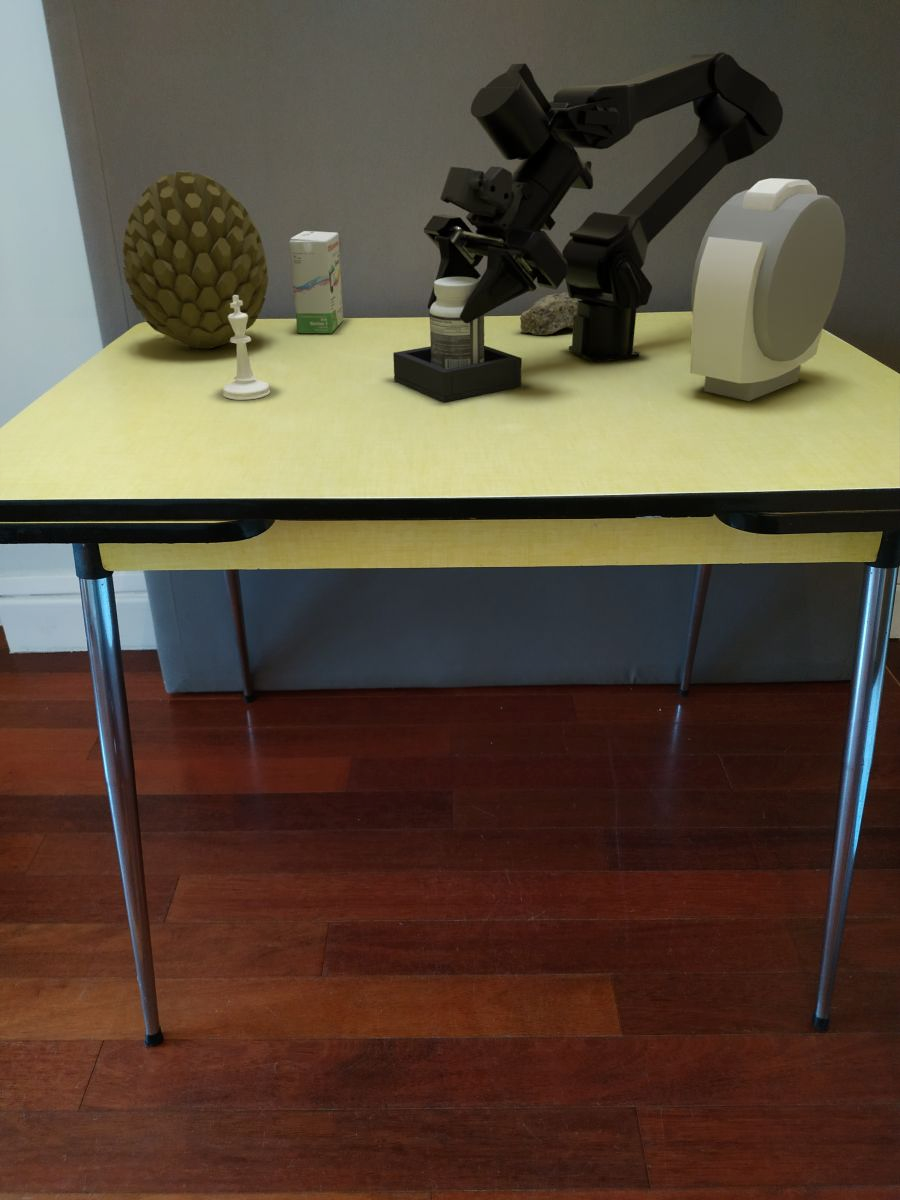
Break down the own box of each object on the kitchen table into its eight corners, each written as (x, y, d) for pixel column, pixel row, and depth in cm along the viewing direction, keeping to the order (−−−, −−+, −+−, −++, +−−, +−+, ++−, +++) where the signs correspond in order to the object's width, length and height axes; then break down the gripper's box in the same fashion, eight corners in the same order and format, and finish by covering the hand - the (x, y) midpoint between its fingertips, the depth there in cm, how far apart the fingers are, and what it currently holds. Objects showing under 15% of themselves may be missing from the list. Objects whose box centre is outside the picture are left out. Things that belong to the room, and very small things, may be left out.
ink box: (332, 334, 120) (326, 239, 114) (296, 333, 121) (287, 238, 115) (344, 320, 128) (339, 230, 122) (310, 319, 128) (303, 230, 122)
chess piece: (278, 388, 98) (269, 292, 93) (255, 401, 94) (244, 301, 89) (238, 384, 99) (227, 289, 94) (214, 397, 95) (200, 298, 90)
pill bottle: (454, 365, 102) (452, 273, 98) (494, 374, 99) (495, 279, 94) (420, 377, 99) (417, 281, 94) (461, 386, 95) (460, 288, 91)
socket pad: (468, 366, 105) (468, 339, 104) (521, 386, 98) (522, 357, 97) (393, 380, 100) (392, 352, 99) (443, 402, 93) (443, 372, 92)
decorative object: (287, 354, 111) (271, 174, 101) (144, 368, 106) (112, 179, 96) (260, 326, 125) (243, 165, 115) (132, 337, 119) (103, 169, 109)
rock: (570, 338, 117) (572, 302, 115) (513, 333, 120) (514, 297, 118) (586, 327, 123) (588, 292, 121) (531, 322, 126) (532, 288, 123)
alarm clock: (758, 363, 106) (788, 172, 96) (828, 377, 100) (868, 176, 91) (671, 395, 95) (695, 182, 85) (744, 412, 89) (779, 188, 80)
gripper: (436, 131, 96) (351, 252, 96) (549, 137, 83) (450, 277, 83) (495, 207, 104) (417, 318, 104) (607, 223, 90) (517, 351, 90)
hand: (446, 315), depth 95 cm, fingers closed on pill bottle, 6 cm apart
